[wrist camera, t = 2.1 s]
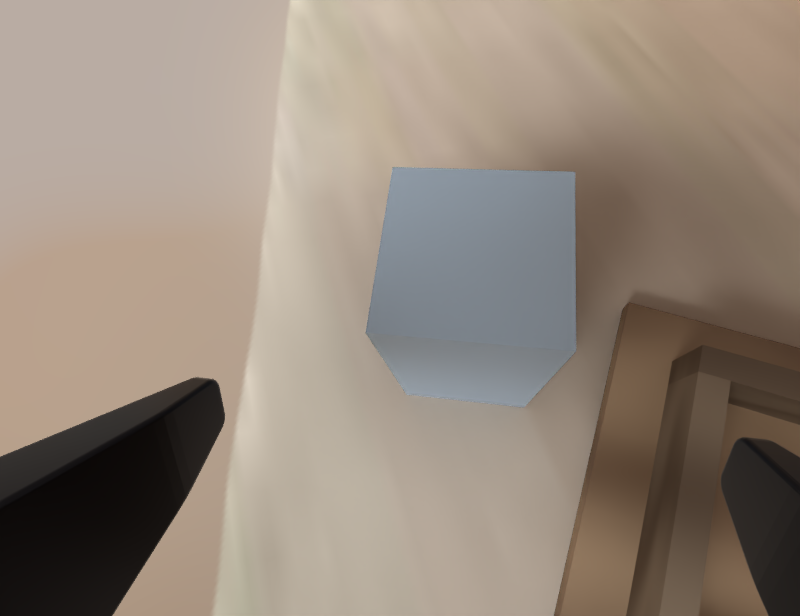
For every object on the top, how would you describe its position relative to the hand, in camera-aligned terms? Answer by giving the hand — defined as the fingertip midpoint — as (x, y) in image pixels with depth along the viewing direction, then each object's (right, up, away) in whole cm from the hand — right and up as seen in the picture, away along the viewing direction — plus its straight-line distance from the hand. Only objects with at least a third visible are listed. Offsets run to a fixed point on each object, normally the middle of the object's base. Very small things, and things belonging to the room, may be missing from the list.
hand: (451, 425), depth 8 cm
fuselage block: (+2, 0, +12) cm, 12 cm away
